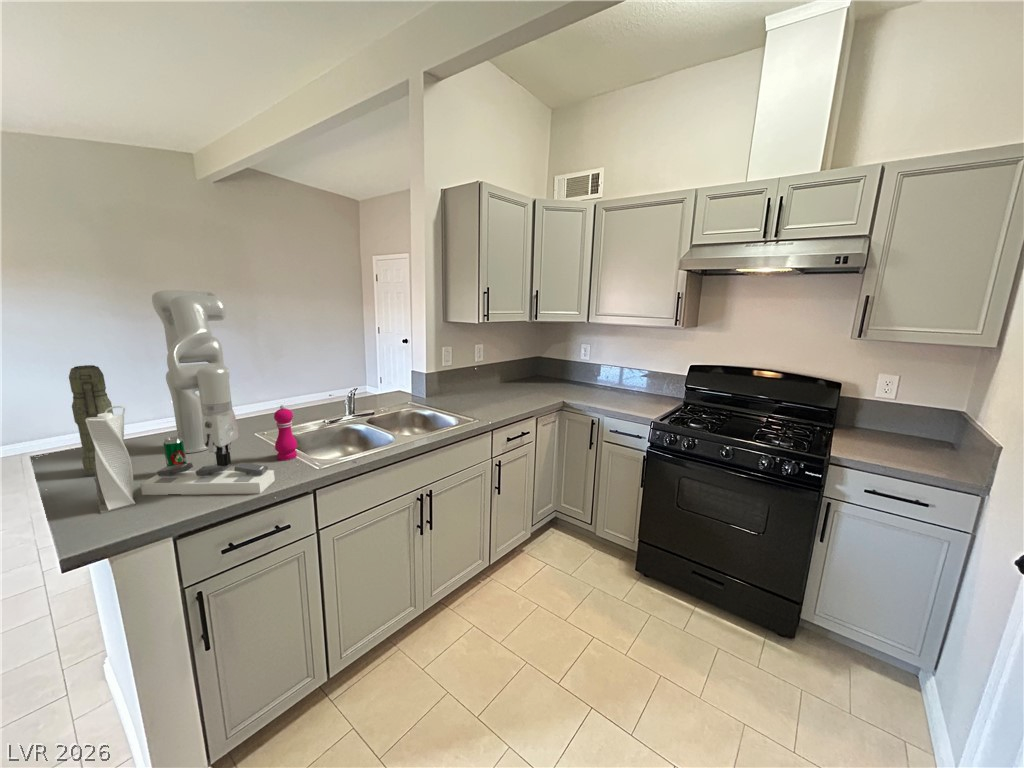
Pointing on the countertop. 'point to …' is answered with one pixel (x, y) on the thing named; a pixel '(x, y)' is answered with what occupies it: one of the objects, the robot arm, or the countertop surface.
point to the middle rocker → (211, 469)
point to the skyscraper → (111, 461)
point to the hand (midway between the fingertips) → (224, 464)
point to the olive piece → (88, 406)
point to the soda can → (174, 451)
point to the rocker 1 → (174, 469)
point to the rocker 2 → (251, 468)
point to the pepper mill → (285, 434)
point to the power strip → (208, 483)
